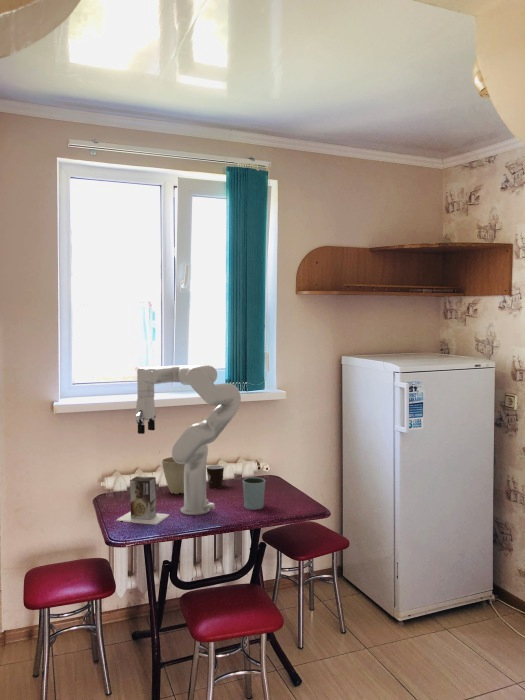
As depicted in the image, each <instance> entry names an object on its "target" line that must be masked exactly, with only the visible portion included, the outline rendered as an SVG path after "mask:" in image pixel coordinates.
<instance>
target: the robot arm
mask: <svg viewBox="0 0 525 700" xmlns="http://www.w3.org/2000/svg"><path fill="white" fill-rule="evenodd" d="M136 377H137V378H136V379H137V381H136V382H137V384H136V385H137V399H136V407H135V419H136V424H137V434H138V435H139V434H140V435H144V434H146V433H145V432H146V431H145V429H146V427H145V426H146V425H145V422H146V421H147V431H155V430H156V429H155V428H156V427H155V425H156V423H155V422H156V414H157V411H156V406H155V385H159V384H167V383H180V384H181V385H184V386H191V388H192V389H193V390H194V391H195V392H196V393H197V395H198V396H199V397H200V398H201V399H202V400H203V401H204V402H205V403H206V404H208V406H209V405H210V406H215V408H214V409H212V411H211V412H210V413H209V415H208V416H207V417H206V418H205V419H204V420H203V421H200V422H196V423H193V424H191V425H190V426H188V427H187V428H186V429H185V430H184V431H183V433H182V434H181V435H180V437H179V438H178V439H177V440H176V442H175V443H174V444H173V446H172V449H171V457H173V459H174V461H175V462H177V463H179V464H185V466H184V493H183V506H182V507H180V513H182V514H184V515H188V516H199V515H203V514H207V513H209V512H210V511H211V510H214V509H215V508H216V504H215V503H214V502H210V501H209V499H207V460H208V453H209V446H208V445H209V444H211V443H213V442H215V441H216V439H218V437H219V436H220V435H221V434H222V432H223V431H224V430H225V429H226V428H227V426H228V425H229V423H230V422H231V421H232V419H233V418H235V416H236V414H237V413H238V412H239V409H240V406H241V403H242V400H241V399H242V397H241V392H240V389H239V388H238V387H237V386H236V385H235V384H233V383H224V382H223V383H219V384H218V383H216V384H215V382H216V380H217V379H218V371H217V369H216V368H215V367H214V366H212V365H210V364H209V365H207V364H203V365H202V364H194V365H191V364H190V365H187V364H186V365H185V364H184V365H166V366H165V365H164V366H153V367H152V366H141V367H138V368H137V371H136Z"/></svg>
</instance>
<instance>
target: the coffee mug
mask: <svg viewBox="0 0 525 700" xmlns="http://www.w3.org/2000/svg"><path fill="white" fill-rule="evenodd" d="M224 468H225V466H224V465H219V464H212V465H206V476H207V481H208V487H210V488H209V489H213V488H217V489H220V488H219V487H221V488H222V487H223V479H224V471H225V470H224Z"/></svg>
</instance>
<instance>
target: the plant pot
mask: <svg viewBox="0 0 525 700" xmlns="http://www.w3.org/2000/svg"><path fill="white" fill-rule="evenodd" d="M161 463H162V469H163V474H164V478H165V481H166V484H167V487H168V490H169V492H170V494H173V493H174V494H175V495H179V493H181V494H184V466H185V464H179V463H177V462H175V461H174V459H173V457H172V456H168V457H165V458H163V459H161Z"/></svg>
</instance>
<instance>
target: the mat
mask: <svg viewBox="0 0 525 700" xmlns="http://www.w3.org/2000/svg"><path fill="white" fill-rule="evenodd" d="M168 517H170V514H169V513H158V512H156V516H155V517H153V518H152V519H151V520H150V519H131V510H130V511H129V512H127V513H125V514H123V515H122V516H120V517H118V518H117V519H116V522H120V521H123V523H131V522H132V523H133V524H144V525H154V526H155V525H156V526H157V525H159V524H160V523H161V522H162V521H164V520H166V519H168Z"/></svg>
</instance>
